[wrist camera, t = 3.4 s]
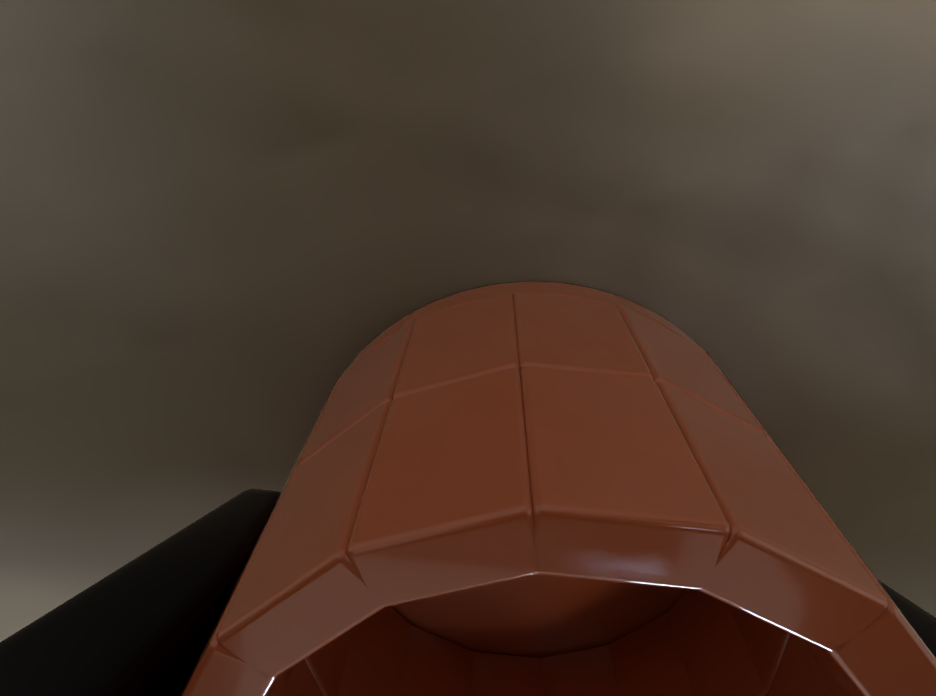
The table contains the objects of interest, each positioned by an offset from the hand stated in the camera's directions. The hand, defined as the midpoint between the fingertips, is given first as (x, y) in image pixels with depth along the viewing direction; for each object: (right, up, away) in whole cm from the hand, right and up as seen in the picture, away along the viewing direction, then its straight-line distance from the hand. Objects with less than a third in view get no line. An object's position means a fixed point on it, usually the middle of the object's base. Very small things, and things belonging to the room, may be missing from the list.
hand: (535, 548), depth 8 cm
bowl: (0, 0, +1) cm, 1 cm away
